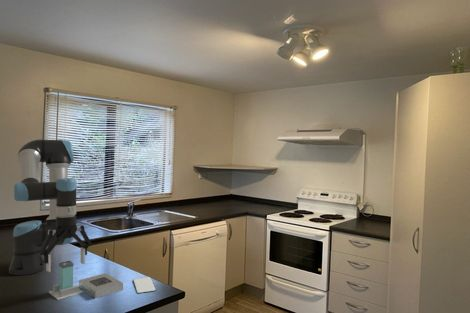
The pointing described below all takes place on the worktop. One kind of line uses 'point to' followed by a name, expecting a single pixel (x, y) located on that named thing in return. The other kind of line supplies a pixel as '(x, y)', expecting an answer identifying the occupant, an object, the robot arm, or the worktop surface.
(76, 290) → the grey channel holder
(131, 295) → the worktop surface
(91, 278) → the port panel
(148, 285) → the smartphone
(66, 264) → the plug
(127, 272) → the worktop surface
